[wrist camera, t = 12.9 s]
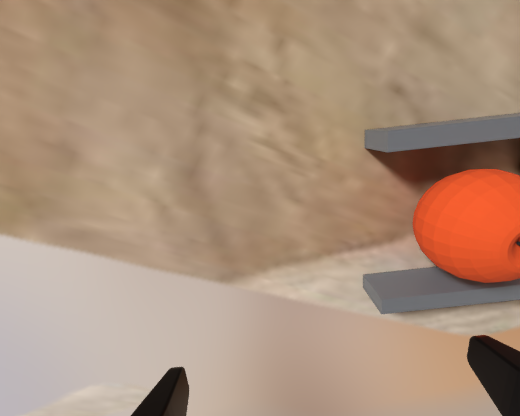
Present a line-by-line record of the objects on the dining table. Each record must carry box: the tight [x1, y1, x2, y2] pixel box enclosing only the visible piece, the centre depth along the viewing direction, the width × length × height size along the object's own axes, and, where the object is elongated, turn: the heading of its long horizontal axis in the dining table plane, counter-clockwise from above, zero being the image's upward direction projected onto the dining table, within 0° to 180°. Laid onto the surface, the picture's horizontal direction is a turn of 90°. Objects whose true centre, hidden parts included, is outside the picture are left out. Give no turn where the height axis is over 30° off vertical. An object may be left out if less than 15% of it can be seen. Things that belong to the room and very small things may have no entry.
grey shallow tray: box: [363, 113, 520, 314], centre depth 17 cm, size 16×12×4 cm
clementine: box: [413, 169, 520, 283], centre depth 16 cm, size 8×7×7 cm
